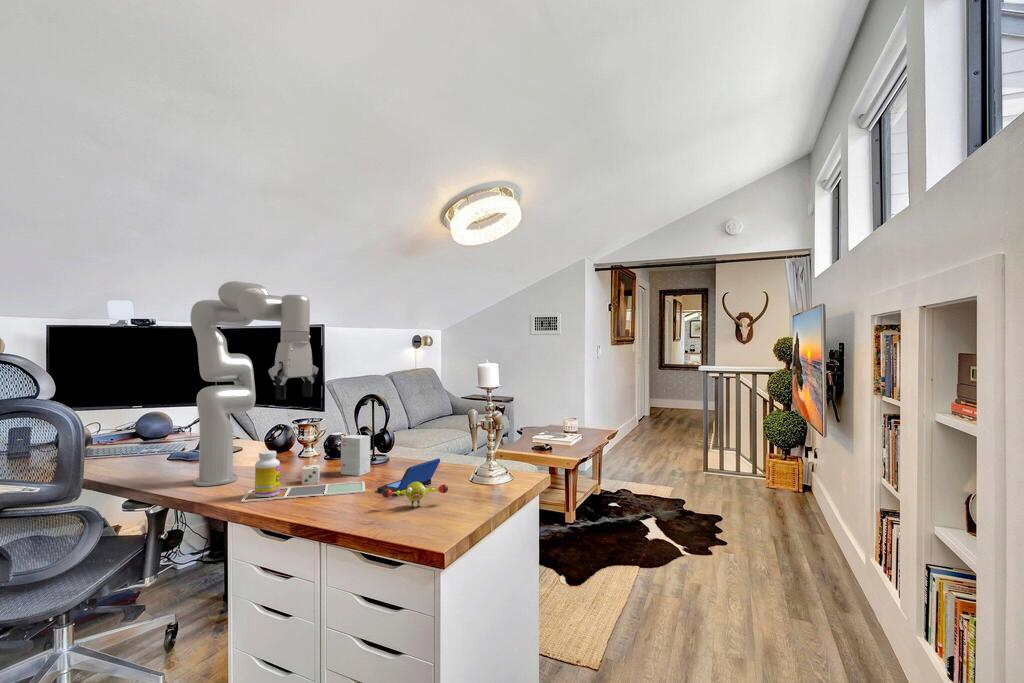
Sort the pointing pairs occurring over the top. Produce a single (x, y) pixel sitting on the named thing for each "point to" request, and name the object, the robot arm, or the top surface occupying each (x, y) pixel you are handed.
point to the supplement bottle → (267, 475)
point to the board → (318, 490)
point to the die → (310, 474)
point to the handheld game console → (413, 476)
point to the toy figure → (414, 492)
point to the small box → (355, 455)
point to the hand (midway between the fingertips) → (294, 398)
